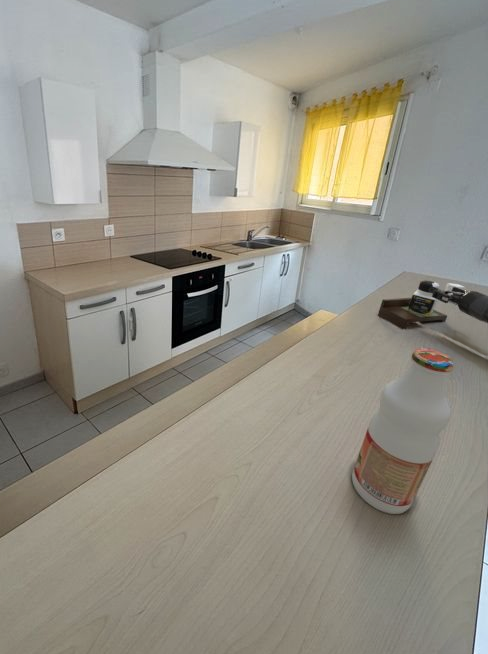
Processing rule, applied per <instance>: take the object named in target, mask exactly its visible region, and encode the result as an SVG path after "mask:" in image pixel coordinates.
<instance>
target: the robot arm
mask: <svg viewBox="0 0 488 654" xmlns="http://www.w3.org/2000/svg"><path fill="white" fill-rule="evenodd" d="M429 292H430V293H432V294H433V295H432V297H433V298H435V299H437V301H440V302H442V303H444V304H448V303H449V302H450V303H452V304H454V305H457V307H458V310H459V311H460V312H461V313H463V314H466V315H468V316H470V317H471V318H474V319H476V320H477V321H479V322H482V323H485V324H488V295H487V294H485V293H482V292H479V291H476V290H475V291H474V290H466V289H464V290H462V289H459V288H457V287H453V289H452V291H450V290H447V291H445V289H440V288H439V289H438V288H436V287H434V286H431V287H430V289H429ZM449 293H452V294H451V295H450V296H449V295H448V294H449Z"/></svg>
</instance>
